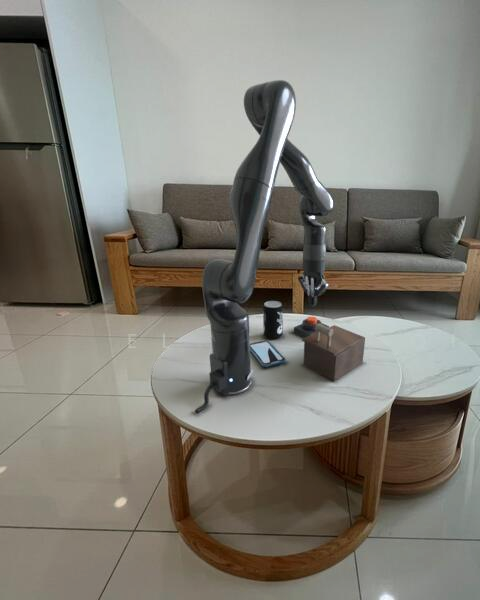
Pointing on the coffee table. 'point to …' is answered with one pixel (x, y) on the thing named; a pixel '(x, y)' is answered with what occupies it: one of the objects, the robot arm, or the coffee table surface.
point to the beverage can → (273, 320)
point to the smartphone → (266, 353)
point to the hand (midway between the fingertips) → (312, 305)
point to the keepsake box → (333, 360)
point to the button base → (307, 328)
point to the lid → (333, 339)
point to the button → (311, 320)
